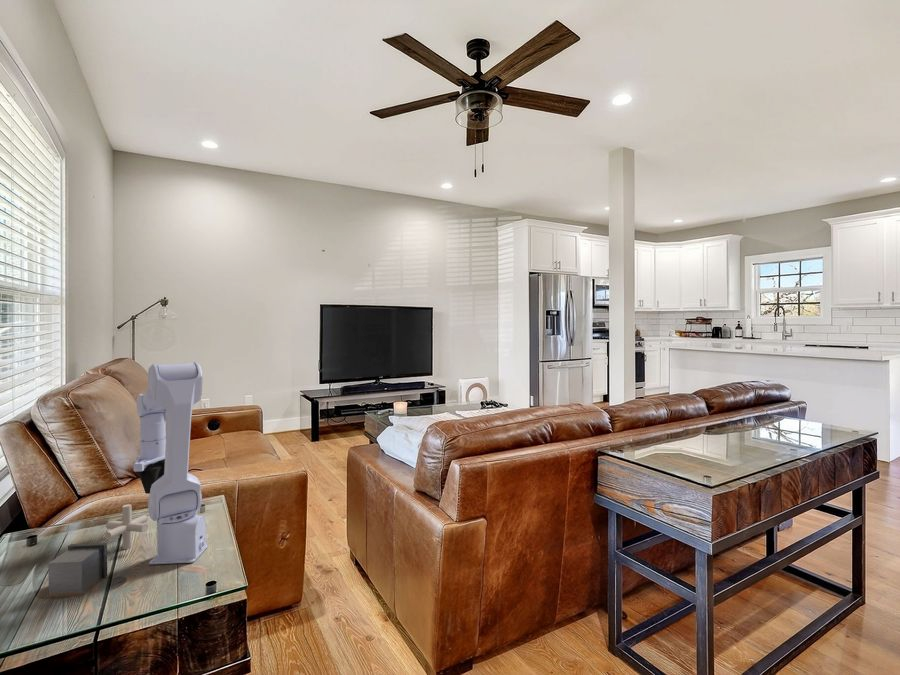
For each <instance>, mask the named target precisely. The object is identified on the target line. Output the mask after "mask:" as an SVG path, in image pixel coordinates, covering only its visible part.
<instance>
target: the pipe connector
mask: <svg viewBox="0 0 900 675" xmlns="http://www.w3.org/2000/svg"><path fill="white" fill-rule="evenodd" d="M121 512H122V513H121V516H122V519H121V520H122V521H118V520H108V521H107V523H106V524H105V529H107V530H108V531H106V532H105V533H104V538H105V539H106V540H107V541H108V540H112V539H114V538H115V537H118V536H120V535H122V549H123V550H129V549H131V548H132V547H133V532H139V533H145V532H147V530H148V529H149V525H148V524H147V522H148V521H149V520H148V515H146V514H143V515H140V516H138V517H136V518H134V519H132V518H133V516H132V513H133V512H132V504H124V505H122V506H121Z"/></svg>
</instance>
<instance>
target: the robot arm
mask: <svg viewBox="0 0 900 675" xmlns="http://www.w3.org/2000/svg"><path fill="white" fill-rule="evenodd" d="M147 370H148V371H147V384H148V387H147V389H146V390H145V392H144V394H143V393H139V394H137V399H136V412H137V416H138V417H139V455H137V456H136V457H135V461H136V460H137V461H136V462H134V463H133V472H135V474H137V476H138V478H139V479H140V481H141V482H140V483H141V484H142V487H143V490H144V493H145V494H147V495H148V497H147V498H148V500H147V508H148V509H147V510H148V514H149V517H150V519H151V520H152V521H154V522H156V534H157V535H156V536H157V537H156V538H157V539H156V540H157V541H156V545H157V547H156V548H157V551H156V553H157V554H156V555H155V556H154V557H153V558H152V559H151V560H150V561H149V562H148V565H162V564H163V565H166V564H168V565H169V564H185V563H187V564H188V563H189V564H192V563H194V562H195V561H197V559H198V558H199V557H200V556H201V555H202V553H203V552H204V551H205V550H206V549H207V548H208V547H209V546H208V544H207V520H206V518H205V516H204V515H198V514H197V512H198V511H199V510H200V509H201V506H202V504H203V502H202V501H203V497H202V496H203V495H202V485H201V481H200V480H199V478H198V477H197V476H196V475H193V474H191V473H189V462H190V460H189V459H190V446H191V444H190V443H191V429H192V417H193V416H192V414H193V409H194V405H196V403H199V402H200V401H201V399H202V395H203V383H204V382H203V381H204V379H203V378H204V377H203V376H204V375H203V369H202V366H201V364H200V363H198V362H196V361H194V362H188V363H187V362H186V363H185V362H184V363H165V364H163V363H162V364H156V363H152V364H151V365H150V366H149V367H148V369H147Z"/></svg>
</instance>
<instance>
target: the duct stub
mask: <svg viewBox="0 0 900 675" xmlns="http://www.w3.org/2000/svg"><path fill="white" fill-rule="evenodd" d="M47 564H48V570H47V572H48V573H47V574H48V598H53V597H55V598H57V597H71V596H73V597H74V596H76V597H77V596H84V594H85V593H87V592H88V591H89V590H91V589H92V588H94V587H95V585H97V584H98V583H99V582H100V581H101V580H103V579H106V578H107V577H108V542H96V543H95V542H92V543H71V544H69V545H68V546H67V550H66V551H65V552H63V553H62V554H60V555H59V556H57V557H55V558H54V559H52V560H51V561H50V562H48V563H47Z"/></svg>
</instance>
